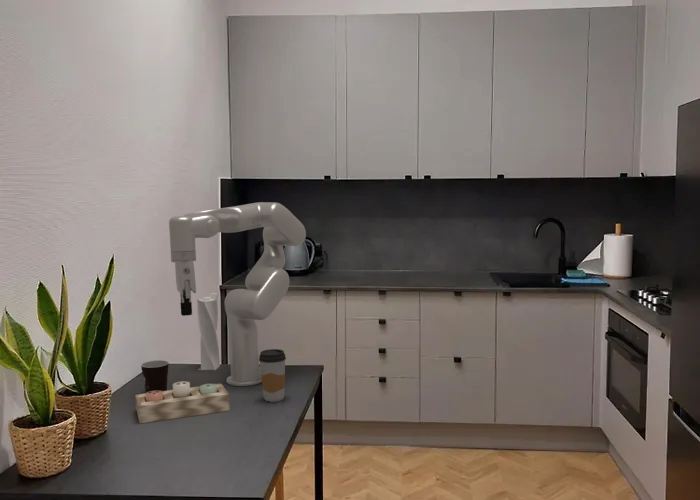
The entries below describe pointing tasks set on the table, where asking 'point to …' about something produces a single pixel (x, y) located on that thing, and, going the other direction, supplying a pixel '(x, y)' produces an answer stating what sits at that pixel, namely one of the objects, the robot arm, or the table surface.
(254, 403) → the table surface
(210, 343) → the skyscraper
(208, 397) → the beige long block
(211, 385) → the button sage
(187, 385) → the button cream
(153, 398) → the pink rounded cylinder
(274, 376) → the coffee cup
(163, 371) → the coffee mug
